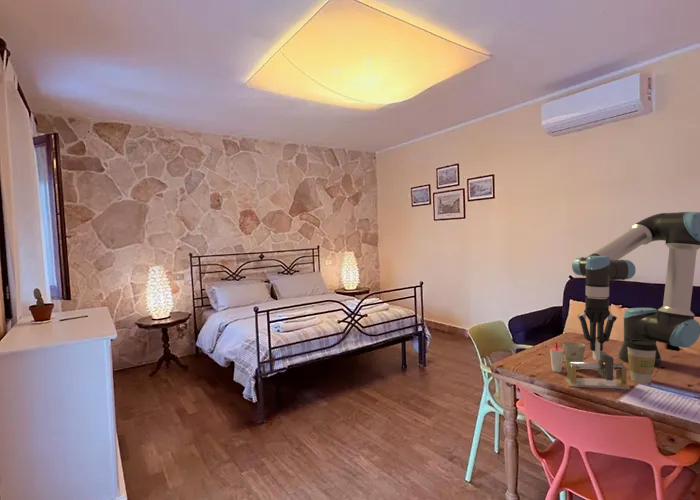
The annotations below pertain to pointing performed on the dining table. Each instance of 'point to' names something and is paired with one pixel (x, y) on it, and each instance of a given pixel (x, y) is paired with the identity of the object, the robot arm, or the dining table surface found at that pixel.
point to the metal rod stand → (597, 383)
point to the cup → (556, 358)
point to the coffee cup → (641, 359)
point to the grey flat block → (606, 366)
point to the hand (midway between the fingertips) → (596, 359)
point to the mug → (573, 352)
